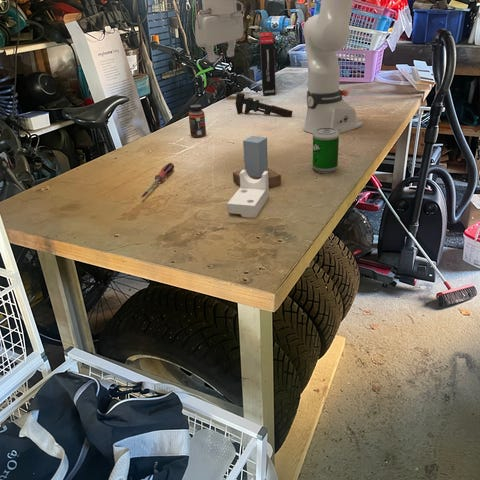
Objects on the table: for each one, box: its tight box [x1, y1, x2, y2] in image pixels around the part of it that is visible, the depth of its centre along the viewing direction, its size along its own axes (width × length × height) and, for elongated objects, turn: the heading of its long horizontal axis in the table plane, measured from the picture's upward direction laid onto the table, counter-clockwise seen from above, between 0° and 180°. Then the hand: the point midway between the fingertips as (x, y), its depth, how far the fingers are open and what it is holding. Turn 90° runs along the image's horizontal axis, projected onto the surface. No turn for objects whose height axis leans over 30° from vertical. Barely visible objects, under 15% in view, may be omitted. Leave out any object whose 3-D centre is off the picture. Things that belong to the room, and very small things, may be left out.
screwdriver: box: [140, 162, 175, 198], centre depth 140 cm, size 25×3×3 cm, turn 168°
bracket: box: [226, 169, 270, 219], centre depth 123 cm, size 13×7×8 cm, turn 162°
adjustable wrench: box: [235, 92, 293, 118], centre depth 201 cm, size 8×3×25 cm
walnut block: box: [232, 167, 282, 189], centre depth 136 cm, size 10×10×3 cm
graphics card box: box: [258, 31, 277, 97], centre depth 233 cm, size 17×7×27 cm, turn 179°
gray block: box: [242, 135, 269, 178], centre depth 133 cm, size 5×5×10 cm
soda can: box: [311, 128, 340, 174], centre depth 140 cm, size 8×8×12 cm
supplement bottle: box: [188, 104, 207, 138], centre depth 179 cm, size 6×6×11 cm
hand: (222, 59), depth 141 cm, fingers open, 8 cm apart
